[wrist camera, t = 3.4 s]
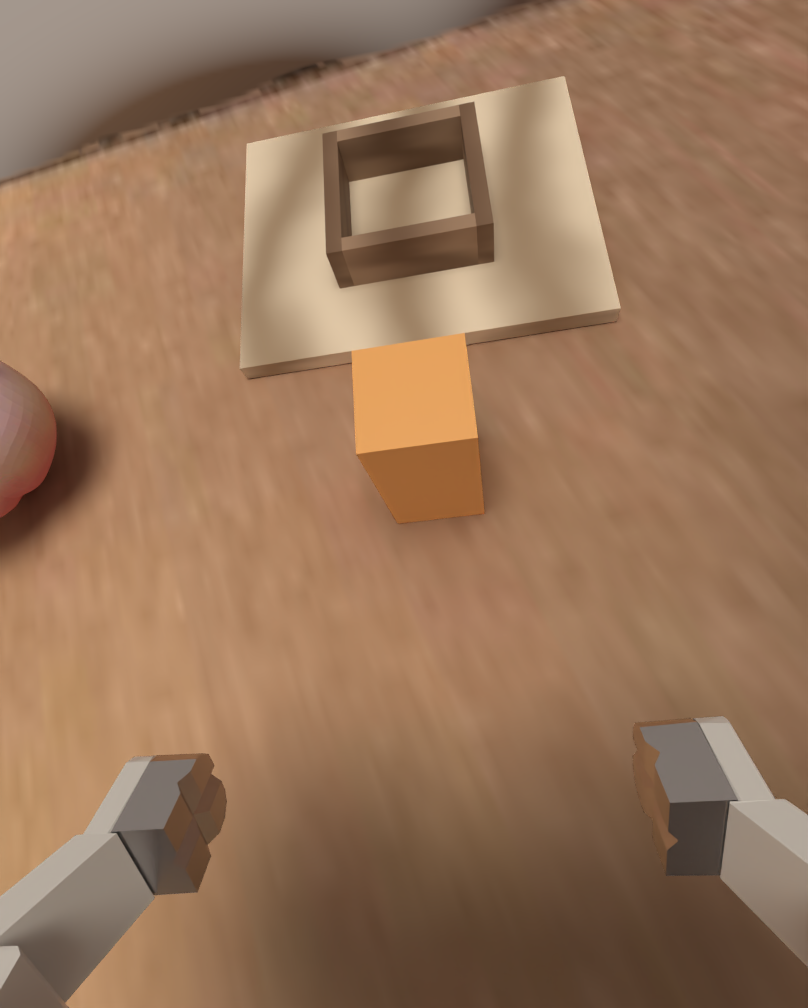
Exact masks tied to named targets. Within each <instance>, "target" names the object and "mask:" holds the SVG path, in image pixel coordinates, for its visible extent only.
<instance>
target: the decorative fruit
mask: <svg viewBox="0 0 808 1008" xmlns="http://www.w3.org/2000/svg"><path fill="white" fill-rule="evenodd" d="M56 441H57V429H56V421H55V417H54V413H53V411H52V408H51V406H50V404H49V402H48V400H47V399H46V397H45V396H44V394H43V393H42V392H41V391H40V390H39V389H38V387H37V386H36V385H34V384H33V383H32V382H31V381H30V380H28V379H27V378H26V377H25V376H23V375H22V374H20V373H19V372H18V371H16V370H15V369H13V368H12V367H10V366H8V365H7V364H5V363H3V362H2V361H0V518H1V517H2V516H4V515H6V514H7V513H9V512H10V511H11V510H13V509H14V508H15V507H16V506H17V504H18V503H19V501H20V499H21V498H22V496H23V495H24V494H26V493H29V492H31V491H32V490H34V489H35V488H37V487H38V486H39V485H40V484H41V483H42V482H43V480H44V479H45V477H46V475H47V473H48V471H49V468H50V466H51V463H52V460H53V457H54V453H55V448H56Z"/></svg>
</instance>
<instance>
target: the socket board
mask: <svg viewBox="0 0 808 1008" xmlns="http://www.w3.org/2000/svg"><path fill="white" fill-rule="evenodd" d="M620 309H621V307H620V303H619V299H618V295H617V291H616V287H615V283H614V278H613V274H612V270H611V266H610V262H609V258H608V254H607V250H606V245H605V241H604V237H603V233H602V229H601V225H600V221H599V217H598V212H597V208H596V204H595V200H594V196H593V192H592V188H591V184H590V179H589V175H588V171H587V167H586V163H585V159H584V155H583V151H582V146H581V142H580V138H579V134H578V130H577V126H576V122H575V118H574V113H573V109H572V105H571V101H570V97H569V93H568V89H567V85H566V80H565V76H562V77H558V78H553V79H548V80H544V81H539V82H534V83H529V84H525V85H520V86H515V87H511V88H506V89H501V90H497V91H492V92H487V93H483V94H478V95H473V96H468V97H464V98H459V99H454V100H450V101H445V102H440V103H436V104H431V105H426V106H422V107H417V108H412V109H408V110H403V111H398V112H393V113H389V114H384V115H379V116H375V117H370V118H365V119H361V120H356V121H351V122H347V123H342V124H337V125H333V126H328V127H323V128H318V129H314V130H309V131H304V132H300V133H295V134H290V135H286V136H281V137H276V138H272V139H267V140H262V141H257V142H253V143H248V144H247V158H246V189H245V221H244V252H243V283H242V315H241V346H240V370H241V371H242V372H243V373H244V375H245V376H246V377H247V378H248V379H251V378H257V377H263V376H270V375H276V374H283V373H289V372H295V371H302V370H308V369H315V368H321V367H327V366H334V365H340V364H347V363H352V352H351V351H354V350H360V349H366V348H373V347H379V346H385V345H392V344H398V343H404V342H410V341H417V340H423V339H429V338H436V337H442V336H448V335H454V334H461V333H465V340H466V345H468V344H475V343H481V342H487V341H494V340H500V339H506V338H513V337H519V336H526V335H532V334H538V333H545V332H551V331H558V330H564V329H570V328H577V327H583V326H590V325H596V324H602V323H609V322H615V321H617V318H618V315H619V312H620Z"/></svg>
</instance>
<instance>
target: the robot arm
mask: <svg viewBox="0 0 808 1008" xmlns="http://www.w3.org/2000/svg"><path fill="white" fill-rule="evenodd" d="M633 739H634V742H635V745H636V748H637V752H636V753H635V754H634V755H633V772H634V779H635V785H636V789H637V793H638V796H639V800H640V803H641V806H642V809H643V812H644V813H646V814H647V815H648V816H649V817H650V818H651V819H652V838H653V840H654V843H655V846H656V849H657V852H658V855H659V857H660V860H661V863H662V866H663V869H664V871H665V874H666V876H687V875H720V878H721V879H722V881H723V882H724V883H725V884H726V885H727V886H728V887H729V888H730V889H731V890H732V891H733V892H734V893H735V894H736V895H737V896H738V897H739V898H740V899H741V900H742V901H743V902H744V903H745V904H746V905H747V906H748V907H749V908H750V909H751V910H752V911H753V912H754V913H755V914H756V915H757V916H758V917H759V918H760V919H761V920H762V921H763V922H764V923H765V924H766V925H767V926H768V927H769V928H770V929H771V931H772V932H773V933H774V934H775V935H776V936H777V937H778V938H779V939H780V940H781V941H782V942H783V943H784V944H785V945H786V946H787V947H788V948H789V949H790V950H791V951H792V952H793V953H794V954H795V955H796V956H797V957H798V958H799V959H800V960H801V961H802V962H803V963H804V964H805V965H806V966H807V967H808V815H807V814H806V813H805V812H803V811H802V810H800V809H799V808H797V807H796V806H795V805H793V804H792V803H790V802H789V801H787V800H786V799H775V797H774V796H773V794H772V792H771V791H770V789H769V787H768V786H767V784H766V782H765V781H764V779H763V777H762V776H761V774H760V772H759V771H758V769H757V767H756V765H755V764H754V762H753V760H752V759H751V757H750V755H749V754H748V752H747V750H746V749H745V747H744V745H743V744H742V742H741V740H740V739H739V737H738V735H737V733H736V732H735V730H734V728H733V727H732V725H731V723H730V722H729V720H727V719H726V718H725V717H724V716H719V717H706V718H694V719H691V718H687V719H675V720H662V721H650V722H638V723H635V724H634V727H633ZM213 768H214V763H213V761H212V760H211V758H210V756H209V754H203V753H201V754H176V755H157V756H137V757H133V758H132V759H130V760H129V761H128V762H127V763H126V764H125V765H124V767H123V769H122V770H121V772H120V774H119V775H118V777H117V779H116V780H115V782H114V784H113V785H112V787H111V789H110V790H109V792H108V794H107V795H106V797H105V799H104V800H103V802H102V804H101V805H100V807H99V809H98V810H97V812H96V814H95V815H94V817H93V819H92V820H91V822H90V824H89V825H88V827H87V829H86V830H85V832H84V834H82V835H75V836H74V837H73V838H72V839H70V840H69V841H68V842H67V843H65V844H64V845H63V846H62V847H61V848H59V849H58V850H57V851H56V852H54V853H53V854H52V855H51V856H49V857H48V858H47V859H46V860H45V861H43V862H42V863H41V864H40V865H38V866H37V867H36V868H35V869H34V870H32V871H31V872H30V873H29V874H27V875H26V876H25V877H24V878H22V879H21V880H20V881H19V882H18V883H16V884H15V885H14V886H13V887H11V888H10V889H9V890H8V891H7V892H5V893H4V894H3V895H2V896H0V1008H69V1007H68V1006H67V1005H66V1001H67V1000H68V999H69V998H70V997H71V995H72V994H73V993H74V992H75V991H76V990H77V988H78V987H79V986H80V985H81V984H82V983H83V981H84V980H85V979H86V978H87V977H88V976H89V974H90V973H91V972H92V971H93V970H94V969H95V967H96V966H97V965H98V964H99V963H100V962H101V960H102V959H103V958H104V957H105V956H106V955H107V953H108V952H109V951H110V950H111V949H112V948H113V946H114V945H115V944H116V943H117V942H118V940H119V939H120V938H121V937H122V936H123V935H124V933H125V932H126V931H127V930H128V929H129V928H130V926H131V925H132V924H133V923H134V922H135V921H136V919H137V918H138V917H139V916H140V915H141V914H142V912H143V911H144V910H145V909H146V908H147V907H148V905H149V904H150V903H151V902H152V901H153V900H154V898H155V897H154V895H164V894H179V893H194V892H198V890H199V887H200V884H201V882H202V879H203V876H204V874H205V871H206V868H207V866H208V863H209V860H210V858H211V854H210V850H209V847H208V844H209V843H210V842H211V841H212V840H213V839H214V838H215V837H216V836H217V835H218V834H219V833H220V830H221V828H222V825H223V822H224V819H225V812H226V804H227V799H226V792H225V788H224V786H223V784H222V781H221V780H219V779H218V778H216V777H215V776H213V775H212V774H211V773H212V770H213Z"/></svg>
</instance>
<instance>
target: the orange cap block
mask: <svg viewBox="0 0 808 1008" xmlns="http://www.w3.org/2000/svg"><path fill="white" fill-rule="evenodd" d="M351 352H352V374H353V396H354V417H355V439H356V455H357V456H358V458H359V460H360V461H361V463H362V465H363V466H364V468H365V470H366V471H367V473H368V475H369V476H370V478H371V480H372V481H373V483H374V485H375V486H376V488H377V490H378V491H379V493H380V495H381V496H382V498H383V500H384V501H385V503H386V505H387V507H388V508H389V510H390V512H391V513H392V515H393V517H394V518H395V520H396V522H397V523H398V524H400V523H409V522H417V521H426V520H435V519H443V518H452V517H460V516H469V515H477V514H485V513H484V502H483V490H482V479H481V467H480V456H479V445H478V435H477V427H476V419H475V411H474V403H473V395H472V387H471V380H470V372H469V364H468V356H467V348H466V340H465V333H461V334H454V335H448V336H442V337H436V338H429V339H423V340H417V341H410V342H404V343H398V344H392V345H385V346H379V347H373V348H366V349H360V350H354V351H351Z"/></svg>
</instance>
